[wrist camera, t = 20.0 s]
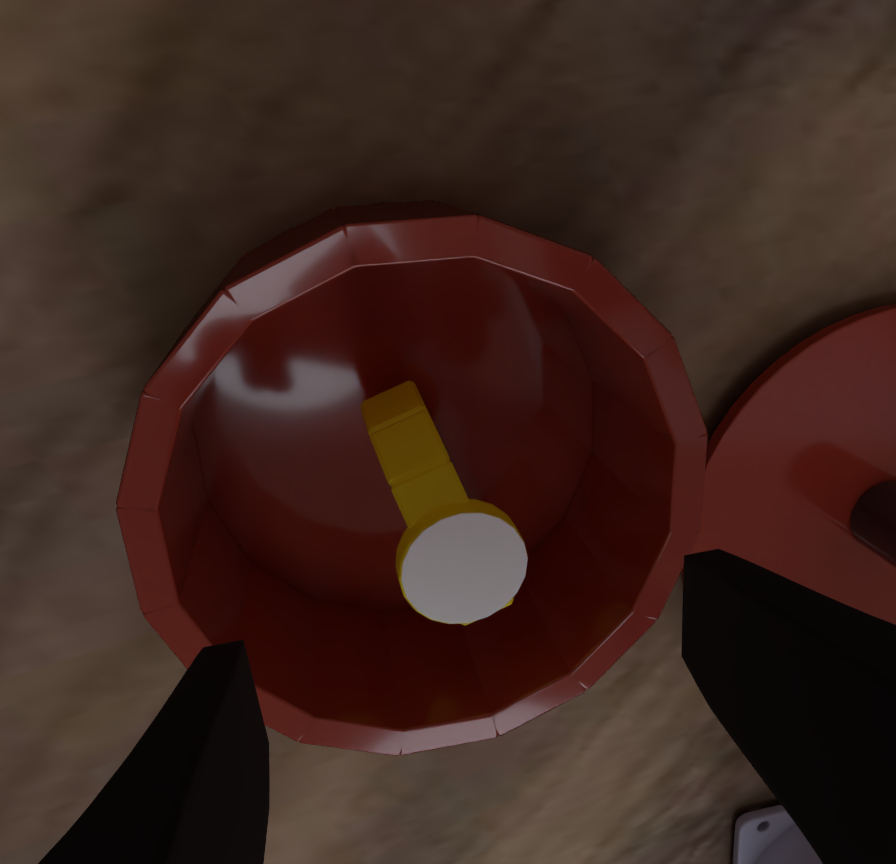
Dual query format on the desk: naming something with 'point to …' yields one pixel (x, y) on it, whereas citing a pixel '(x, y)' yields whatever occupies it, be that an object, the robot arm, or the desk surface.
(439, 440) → the watch
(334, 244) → the pot
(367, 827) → the desk surface
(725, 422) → the lid
